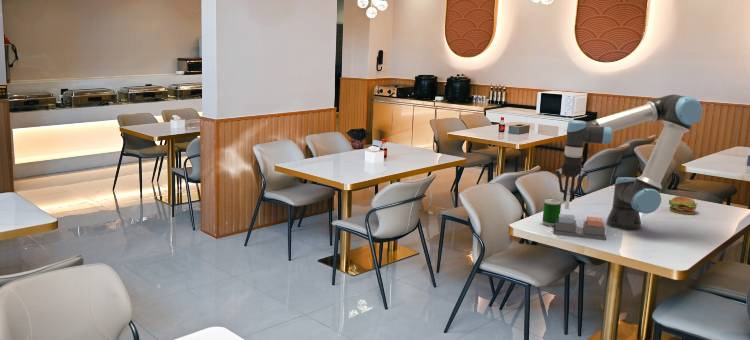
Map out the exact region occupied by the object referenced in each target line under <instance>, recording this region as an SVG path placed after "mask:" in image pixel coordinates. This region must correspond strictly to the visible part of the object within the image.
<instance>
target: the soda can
mask: <svg viewBox="0 0 750 340" xmlns="http://www.w3.org/2000/svg"><path fill="white" fill-rule="evenodd" d="M543 202H544V203H543V210H542V212H543V213H542V219H541V220H542V223H543V225H544V226H547V227H554V225H555V224H556V218H559V214H561V210H562V209H561V207H562V202H561V201H560V199H558V198H555V197H548V198H546V199H545V200H544V201H543Z"/></svg>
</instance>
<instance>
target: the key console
mask: <svg viewBox="0 0 750 340" xmlns="http://www.w3.org/2000/svg"><path fill="white" fill-rule="evenodd" d="M586 221H587V220H583V225H582V227H579V226H578V227H577V220H576V219H574V224H567V223H559V218H556V224H555V225H554V226H552V227H553V229H552V233H553V235H557V236H564V237H573V238H582V239H583V238H584V239H592V240H599V241H600V240H601V241H606V240H607V234H606V227H605V223H604V222H603V227H594V226H587V224H586Z"/></svg>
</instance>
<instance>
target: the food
mask: <svg viewBox="0 0 750 340" xmlns="http://www.w3.org/2000/svg"><path fill="white" fill-rule="evenodd" d="M668 204H669V210H670V212H673V213H675V212H676V214H680V213H682V215H693V214H695V212H696V210H697V207H698V203H696V201H694V199H692V198H691V197H688V196H679V195H678V196H675V197H673V198H672V199H668Z"/></svg>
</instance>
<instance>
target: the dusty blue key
mask: <svg viewBox="0 0 750 340" xmlns="http://www.w3.org/2000/svg"><path fill="white" fill-rule="evenodd" d="M574 220H575V215H574V214H565V213H560V214H559V223H567V224H574Z"/></svg>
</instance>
